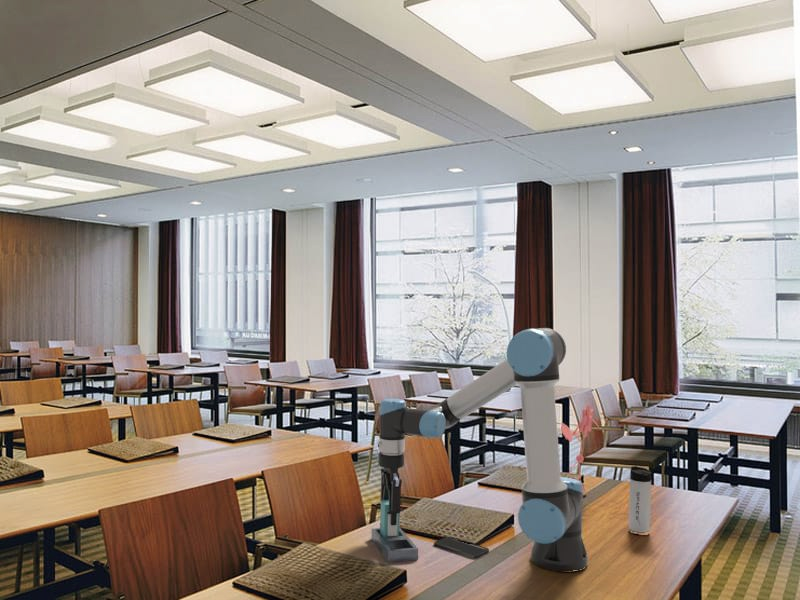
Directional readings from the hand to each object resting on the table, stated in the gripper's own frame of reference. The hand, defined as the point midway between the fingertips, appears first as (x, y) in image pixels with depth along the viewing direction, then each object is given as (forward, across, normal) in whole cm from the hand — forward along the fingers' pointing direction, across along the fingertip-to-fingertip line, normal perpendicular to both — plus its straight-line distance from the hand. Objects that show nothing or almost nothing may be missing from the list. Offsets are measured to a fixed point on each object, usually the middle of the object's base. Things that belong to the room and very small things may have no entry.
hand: (389, 531), depth 194 cm
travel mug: (+3, +9, +79) cm, 80 cm away
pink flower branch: (+4, -24, +81) cm, 85 cm away
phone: (+4, +9, +19) cm, 21 cm away
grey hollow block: (+3, +5, 0) cm, 6 cm away
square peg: (+3, 0, 0) cm, 3 cm away
